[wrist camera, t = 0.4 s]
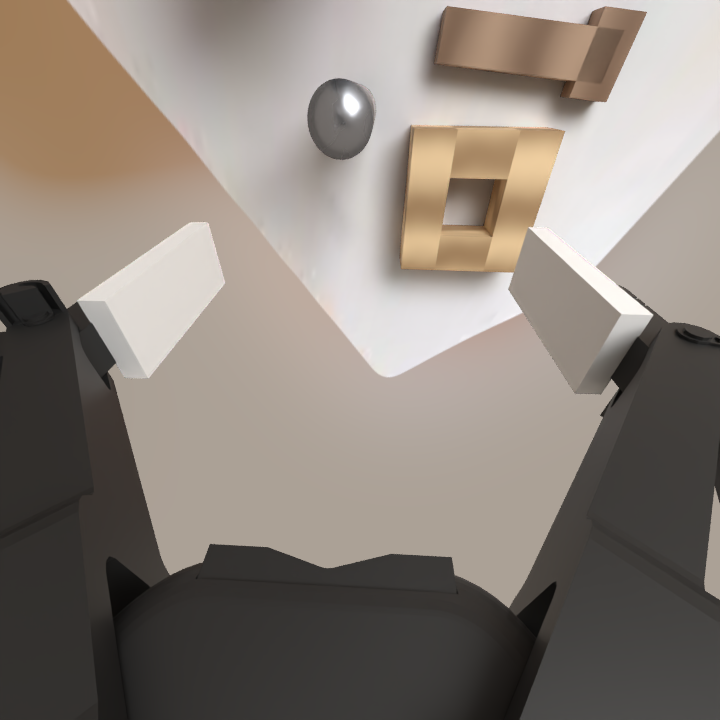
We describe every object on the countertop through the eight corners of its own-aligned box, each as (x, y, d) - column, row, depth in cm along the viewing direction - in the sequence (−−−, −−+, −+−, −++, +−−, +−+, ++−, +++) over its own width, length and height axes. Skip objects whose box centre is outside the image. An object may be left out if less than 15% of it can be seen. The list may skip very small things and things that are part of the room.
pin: (334, 83, 28) (304, 78, 17) (376, 83, 28) (374, 78, 17) (335, 134, 30) (310, 158, 19) (375, 135, 30) (371, 160, 19)
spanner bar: (430, 80, 27) (433, 79, 26) (446, -9, 24) (450, -15, 23) (593, 101, 28) (606, 102, 26) (630, 17, 25) (646, 12, 23)
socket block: (411, 125, 29) (414, 128, 27) (547, 127, 29) (565, 131, 26) (399, 255, 37) (401, 269, 34) (507, 259, 37) (517, 272, 34)
